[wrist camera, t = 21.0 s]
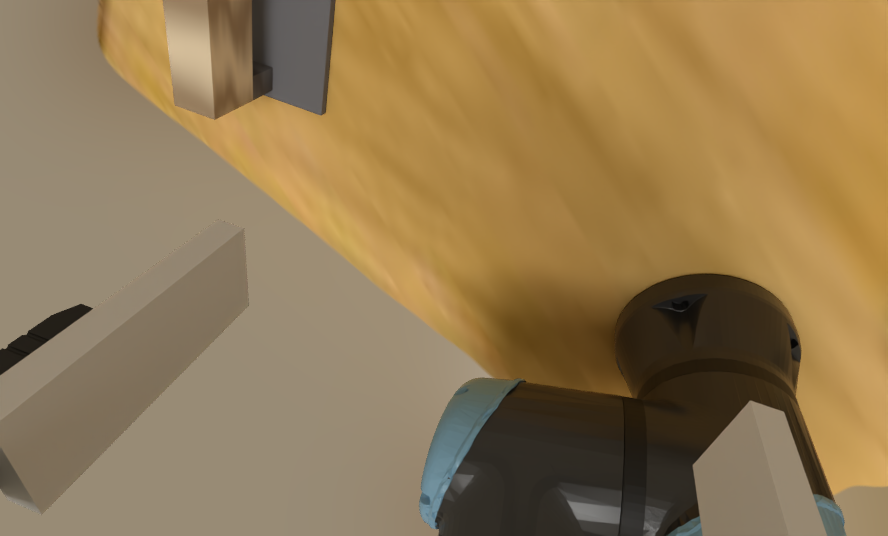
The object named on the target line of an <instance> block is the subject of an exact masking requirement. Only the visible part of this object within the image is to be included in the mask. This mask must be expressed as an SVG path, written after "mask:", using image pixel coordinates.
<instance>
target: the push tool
mask: <svg viewBox="0 0 888 536" xmlns="http://www.w3.org/2000/svg"><path fill="white" fill-rule="evenodd" d="M163 6H164V15H165V24H166V33H167V42H168V51H169V59H170V68H171V77H172V86H173V95H174V103H175V106H178V107H181V108H184V109H186V110H189V111H192V112H195V113H197V114H200V115H203V116H206V117H209V118H211V119H214V120H215V119H217V118H219V117H221V116H223V115H225V114H227V113H229V112H231V111H233V110H235V109H237V108H239V107H241V106H243V105H245V104H247V103H249V102H251V101H252V100H254V99H256V98H258V97H260V96H262V95H264V94H266V93H268V92H270V91H272V90H273V67H270V66H267V65H264V64H261V63H258V62H255V61H253V60H252V0H163Z"/></svg>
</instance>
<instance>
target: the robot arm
mask: <svg viewBox="0 0 888 536" xmlns="http://www.w3.org/2000/svg"><path fill="white" fill-rule="evenodd" d="M248 306H249V298H248V283H247V268H246V251H245V235H244V228H242V227H239V226H237V225H234V224H230V223H228V222H225V221H222V220H219V219H218V220H217V221H215V222H214V223H212V224H211V225H210V226H208V227H207V228H205V229H204V230H203V231H201V232H200V233H198V234H197V235H196V236H194V237H193V238H191V239H190V240H189V241H187V242H186V243H184V244H183V245H182V246H180V247H179V248H178V249H176V250H175V251H173V252H172V253H171V254H169V255H168V256H166V257H165V258H164V259H162V260H161V261H159V262H158V263H156V264H155V265H154V266H152V267H151V268H150V269H148V270H147V271H145V272H144V273H143V274H141V275H140V276H138V277H137V278H136V279H134V280H133V281H132V282H130V283H129V284H127V285H126V286H125V287H123V288H122V289H120V290H119V291H118V292H116V293H115V294H113V295H112V296H110V297H109V298H108V299H106V300H105V301H104V302H102V303H101V304H99V305H98V306H97V307H95V308H94V309H93V308H91V307H88V306H85V305H83V304H79V305H77V306H75V307H72V308H69V309H67V310H64V311H61V312H59V313H56V314H54V315H51V316H50V317H49V318H47V319H46V320H44V321H43V322H41V323H40V324H38V325H37V326H35V327H34V328H32V329H31V330H29V331H28V333H27V335H22V336H20V337H19V338H17V339H16V340H15V341H13V342H11V343H10V344H9V345H8V347H7V348H6V349H1V350H0V489H1V490H2V492H3V493H4V495H5V496H6V498H7V499H8V500H9V501H12V502H14V503H16V504H18V505H21V506H23V507H25V508H28V509H30V510H32V511H34V512H37V513H39V514H41V515H42V514H43V513H44V512H45V511H46V510H47V509H48V508H49V507H50V506H51V505H52V504H53V503H54V502H55V501H56V500H57V499H58V498H59V497H60V496H61V495H62V494H63V493H64V492H65V491H66V490H67V489H68V488H69V487H70V486H71V485H72V484H73V483H74V482H75V481H76V480H77V479H78V478H79V477H80V475H82V474H83V473H84V472H85V471H86V469H88V468H89V466H91V465H92V464H93V462H94V461H95V460H96V459H97V458H98V457H99V456H100V455H101V454H102V453H103V452H104V451H105V450H106V449H107V448H108V447H109V446H110V445H111V444H112V443H113V442H114V441H115V440H116V439H117V438H118V437H119V436H120V435H121V434H122V433H123V432H124V431H125V430H126V429H127V428H128V427H129V426H130V425H131V424H132V423H133V422H134V421H135V420H136V419H137V418H138V417H139V416H140V415H141V414H142V413H143V412H144V411H145V410H146V409H147V408H148V407H149V406H150V405H151V404H152V403H153V402H154V401H155V400H156V399H157V398H158V397H159V396H160V395H161V394H162V393H163V392H164V391H165V390H166V389H167V387H169V386H170V385H171V384H172V383H173V382H174V380H176V379H177V378H178V377H179V376H180V374H182V373H183V372H184V371H185V370H186V369H187V368H188V367H189V365H190V364H191V363H192V362H193V361H194V360H195V359H196V358H197V357H198V356H199V355H200V354H201V353H202V352H203V351H204V350H205V349H206V348H207V347H208V346H209V345H210V344H211V343H212V342H213V341H214V340H215V339H216V338H217V337H218V336H219V335H220V334H221V333H222V332H223V331H224V330H225V329H226V328H227V327H228V326H229V325H230V324H231V323H232V322H233V321H234V320H235V319H236V318H237V317H238V316H239V315H240V314H241V313H242V312H243V311H244V310H245V309H246V308H247V307H248ZM615 356H616V361H617V365H618V367H619V370H620V371H621V373H622V375H623V377H624V379H625V380H626V383H627V385H628V387H629V389H630V392H631V394H632V396H633V398H629V397H622V396H618V395H610V394H603V393H595V392H588V391H580V390H573V389H566V388H559V387H553V386H546V385H539V384H533V383H526V381H525V380H524V379H515V380H503V379H492V378H475V379H472V380H470V381H468V382H466V383H465V384H463V385H462V386H461V387H460V388H459V389H458V390H457V391H456V393H455V394H454V396H453V397H452V399H451V400H450V402H449V403H448V405H447V407H446V409H445V411H444V413H443V415H442V417H441V419H440V421H439V424H438V426H437V429H436V431H435V434H434V436H433V440H432V442H431V446H430V449H429V452H428V456H427V459H426V463H425V467H424V471H423V476H422V482H421V490H422V494H421V497H420V501H419V507H420V514H421V517H422V519H423V521H424V522H425V523H427V524H429V526H430V527H431V528H433V529H439V536H846V533H845V530H844V518H843V514H842V511H841V509H840V507H839V506H838V505H837V504H836V503H835V500H834V498H833V495H832V492H831V490H830V487H829V484H828V482H827V479H826V476H825V474H824V471H823V468H822V466H821V463H820V460H819V458H818V455H817V452H816V450H815V447H814V445H813V442H812V439H811V437H810V434H809V431H808V429H807V426H806V423H805V421H804V418H803V415H802V413H801V411H800V408H799V405H798V402H797V399H796V389H797V381H798V373H799V366H800V359H801V344H800V338H799V335H798V332H797V330H796V327H795V325H794V323H793V320H792V318H791V316H790V314H789V312H788V310H787V309H786V307H785V306H784V305H783V304H782V303H781V301H780V300H778V299H777V298H776V297H775V296H774V295H773V294H771V293H770V292H768V291H767V290H765V289H763V288H762V287H760V286H758V285H756V284H753V283H751V282H748V281H745V280H742V279H738V278H734V277H729V276H723V275H707V274H705V275H690V276H683V277H678V278H674V279H670V280H667V281H664V282H662V283H659V284H657V285H654V286H652V287H650V288H649V289H647V290H645V291H644V292H642V293H641V294H639V295H638V296H636V297H635V298H634V299H633V300H632V301H631V302H630V303H629V304H628V305H627V306H626V307H625V309H624V310H623V312H622V313H621V315H620V317H619V319H618V322H617V324H616V329H615Z"/></svg>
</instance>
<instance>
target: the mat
mask: <svg viewBox="0 0 888 536" xmlns="http://www.w3.org/2000/svg"><path fill="white" fill-rule="evenodd" d="M334 10H335V0H252V60H253V61H255V62H258V63H261V64H264V65H267V66H270V67H273V90H272V91H270V92H268V93H266V94H264V95H265V96H268V97H271V98H274V99H276V100H279V101H282V102H285V103H288V104H290V105H293V106H296V107H299V108H302V109H304V110H307V111H310V112H313V113H316V114H318V115H323V114H324V113H325V112H326V101H327V90H328V78H329V67H330V55H331V44H332V33H333V21H334Z"/></svg>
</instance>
